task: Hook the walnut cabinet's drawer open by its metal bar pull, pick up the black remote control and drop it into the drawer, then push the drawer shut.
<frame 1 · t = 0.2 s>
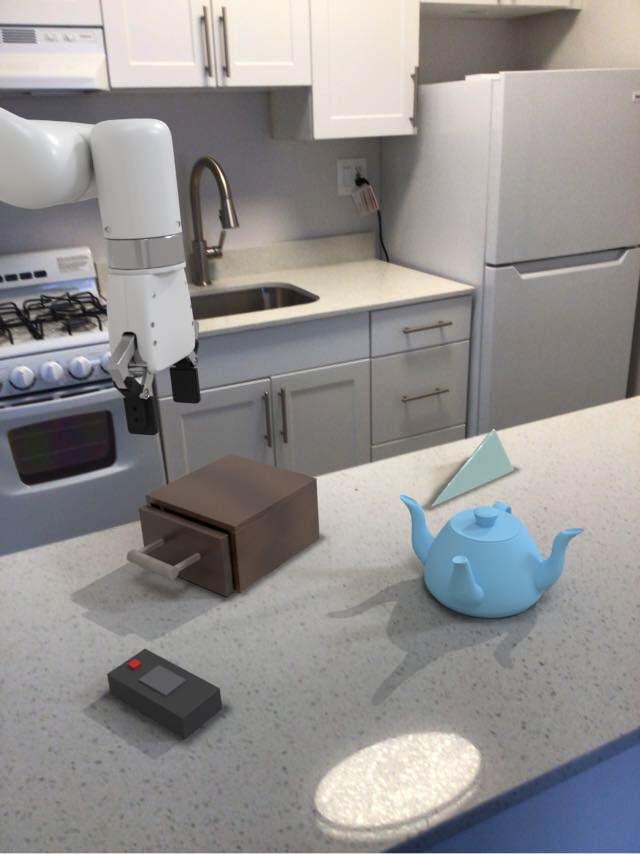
hand: (166, 417, 81), 21 cm above the worktop, tool pointing down, fingers open, 9 cm apart
pale green wedge: (473, 492, 108), on the worktop
remote: (166, 707, 69), on the worktop
teapot: (480, 599, 83), on the worktop
cabinet: (238, 552, 94), on the worktop
drawer: (207, 535, 89), point 5 cm above the worktop, slide at 0.5 cm
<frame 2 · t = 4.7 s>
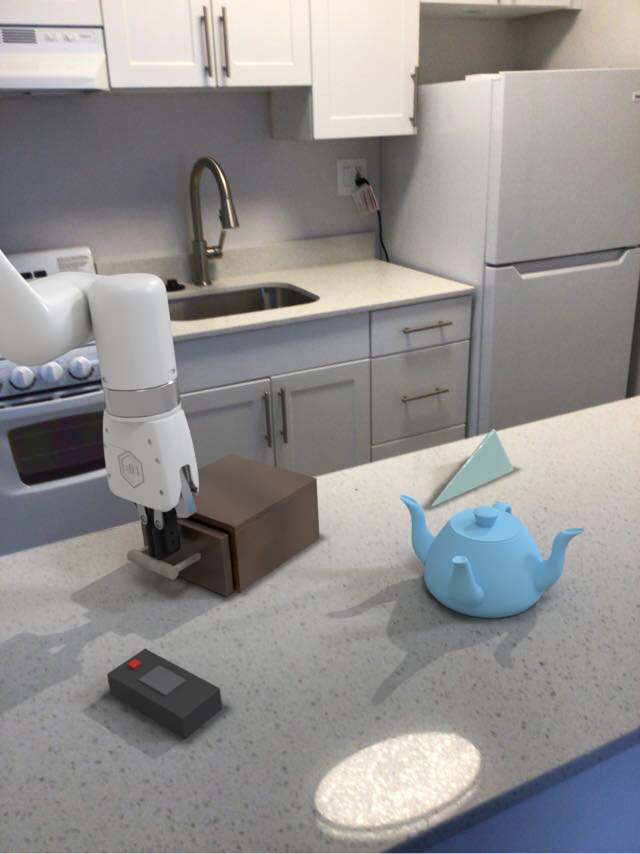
hand: (165, 553, 84), 6 cm above the worktop, tool pointing down, fingers closed
drawer: (208, 535, 89), point 5 cm above the worktop, slide at 0.5 cm, touching gripper
everything else where it was.
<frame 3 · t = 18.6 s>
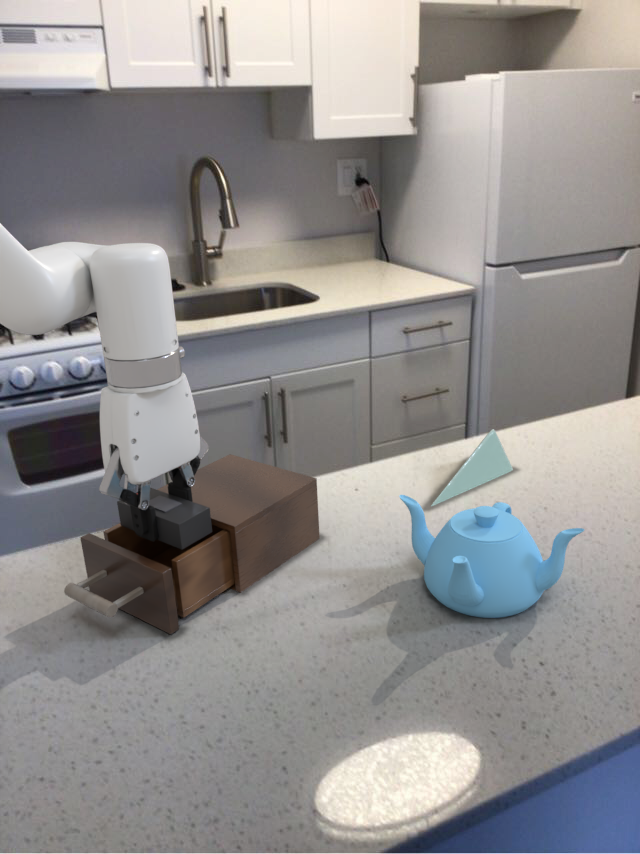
hand: (165, 525, 83), 9 cm above the worktop, tool pointing down, fingers closed on remote, 4 cm apart
remote: (165, 528, 83), point 8 cm above the worktop, touching gripper
drawer: (154, 566, 83), point 5 cm above the worktop, slide at 8.7 cm
everything else where it was.
when the fingers open (10 cm above the worktop, at t = 26.2 s): remote drops 7 cm, resting on drawer.
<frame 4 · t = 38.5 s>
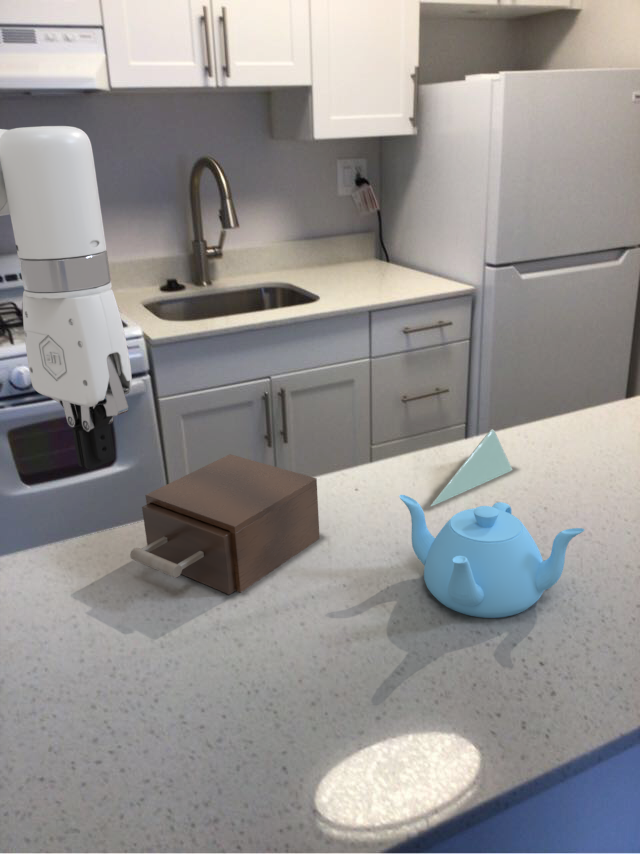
hand: (97, 462, 74), 19 cm above the worktop, tool pointing down, fingers closed
remote: (224, 545, 92), point 2 cm above the worktop, touching drawer
drawer: (210, 534, 90), point 5 cm above the worktop, slide at 0.0 cm, touching cabinet, remote
everything else where it was.
at the end: drawer pulled out 8.7 cm at the most during the clip, back to where it started at the end; remote inside the target area in the cabinet (2.2 cm from its centre), point 2.0 cm above the cabinet's base; drawer slide at 0.0 cm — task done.
